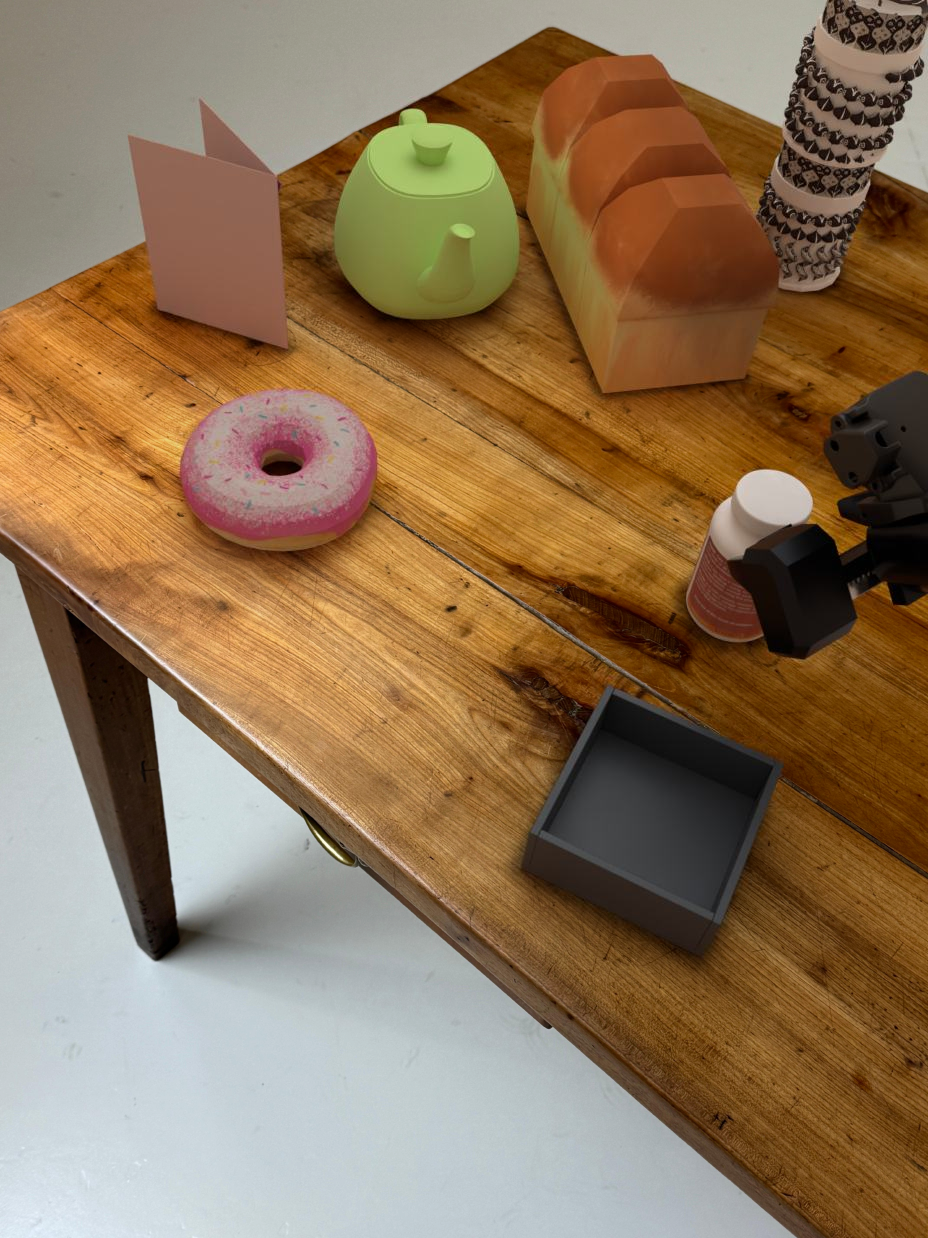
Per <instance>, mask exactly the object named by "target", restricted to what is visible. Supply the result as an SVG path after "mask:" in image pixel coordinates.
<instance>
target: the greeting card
mask: <svg viewBox="0 0 928 1238" xmlns="http://www.w3.org/2000/svg"><path fill="white" fill-rule="evenodd" d="M198 101H199V110H200V111H199V112H200V119H201V127H202V128H201V129H202V135H203V143H204V144H203V145H204V152H205V155H203V154H199V153H195V152H193V151H189V150H185V149H182V148H178V147H174V146H171V145H167V144H164V143H160V142H157V141H153V140H150V139H146V138H143V137H139V136H135V135H132V134H129V133H128V134H127V139H128V144H129V145H128V146H129V151H130V157H131V162H132V169H133V174H134V180H135V185H136V192H137V198H138V203H139V209H140V214H141V221H142V226H143V233H144V238H145V243H146V249H147V250H146V251H147V255H148V261H149V267H150V273H151V277H152V278H151V279H152V283H153V290H154V295H155V301H156V307H157V310H159V311H162V312H165V313H168V314H172V315H176V316H178V317H182V318H185V319H187V320H191V321H194V322H198V323H201V324H204V325H208V326H211V327H214V328H217V329H220V330H224V331H227V332H231V333H234V334H238V335H240V336H243V337H247V338H249V339H253V340H256V341H260V342H264V343H266V344H269V345H273V346H276V347H280V348H283V349H286V350H289V333H288V320H287V305H286V304H287V303H286V290H285V289H286V288H285V274H284V259H283V244H282V243H283V242H282V228H281V215H280V200H279V199H280V197H279V193H280V190H281V186H282V183H281V182H280V181H279V180H278V175H277V174H275V172H274V171H273V170H272V169H271V168H270V167H269V166H268V165H267V164H266V163H265V162H264V161H263V160H262V159H261V158H260V157H259V156H258V155H257V154H256V153H255V152H254V151H253V150H252V149H251V148H250V146H248V145H247V144H246V143H245V141H243V140H242V139H241V138H240V137H239V136H238V135H237V133H235V131H234V130H233V129H232V128H231V127H230V126H229V125H227V124H226V122H225V121H224V120H223V119H222V118H221V117H220V116H219V115H218V114H217V113H216V112H215V111H214V110H213V109H212V108H211V107H210V106H209V105H208V104H207V103H206V102H205V101H204V100H203V98H201V97H200V96H198Z"/></svg>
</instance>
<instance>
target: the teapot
mask: <svg viewBox="0 0 928 1238" xmlns="http://www.w3.org/2000/svg"><path fill="white" fill-rule="evenodd" d="M334 222H335V223H334V229H333V249H334V254H335V257H336V261H337V263H338V266H339V268H340V271H341V272H342V274H343V275H344V277H345V279H346V280H347V281H348V283H349V284H350V285H351V286H352V287H353V289H354V290H355V291H356V292H357V293H358V294H359V295H360V296H361V298H362V299H364V300H365V301H366V302H367V303H369V304H370V306H372V307H374V308H375V309H376V310H378V311H380V312H382V313H384V314H387V315H389V316H392V317H396V318H401V319H409V320H440V319H449V318H456V317H462V316H467V315H471V314H474V313H477V312H480V311H482V310H484V309H485V308H487V307H488V306H490V305H491V304H493V303H494V302H495V301H496V300H498V299H499V298H500V297H501V296H502V295H503V294H504V293H505V292H507V290H508V289H509V288H510V286H511V285H512V283H513V281H514V279H515V277H516V274H517V272H518V267H519V263H520V261H519V260H520V249H521V243H520V231H519V230H520V229H519V223H518V222H519V221H518V216H517V211H516V208H515V203H514V201H513V197H512V195H511V192H510V189H509V186H508V184H507V183H506V180H505V178H504V176H503V173H502V171H501V169H500V167H499V164H498V163H497V161H496V159H495V157H494V156H493V154H492V153H491V150H489V148H488V146H487V145H486V144H485V142H484V141H482V139H481V138H479V136H477V135H476V134H475V133H473V132H471V130H468V129H466V128H464V127H461V126H459V125H455V124H450V123H437V122H436V123H434V122H428V119H427V115H426V113H425V112H424V111H423V110H421V109H418V108H408V109H404V110H403V111H401V112H400V114H399V117H398V125H395V126H392V127H388V128H386V129H383V130H381V131H379V132H378V133H377V134H375V135H374V136H372V138H371V140H370V141H369V142H368V143H367V145H366V146H365V148H364V150H363V151H362V153H361V154H360V157H359V158H358V160H357V162H356V163H355V165H354V166H353V168H352V170H351V172H350V174H349V176H348V178H347V180H346V182H345V184H344V187H343V190H342V192H341V196H340V198H339V201H338V207H337V211H336V215H335V221H334Z"/></svg>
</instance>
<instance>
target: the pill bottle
mask: <svg viewBox="0 0 928 1238" xmlns="http://www.w3.org/2000/svg"><path fill="white" fill-rule="evenodd" d="M813 508H814V501H813V496H812V494H811V492H810V490H809V489H808V487H806V485H804V484H803V482H802V481H800V480H799V479H798V478H796V477H794V476H793V475H791V474H789V473H786V472H784V471H780V470H776V469H756V470H754V471H750V472H748V473H746V474H745V475H743V476H742V477H741V478H740V480H739V481H738V483H737V484H736V487H735V489H734V491H733V493H732V495H731V496H729V497H728V498H726V499H725V500H723V501H722V502H721V503H720V504H719V505H718V506H717V508H716V509H715V511H714V513H713V515H712V518H711V519H710V522H709V526H708V528H707V531H706V534H705V537H704V540H703V543H702V545H701V548H700V552H699V554H698V557H697V560H696V563H695V566H694V569H693V571H692V574H691V577H690V580H689V584H688V585H687V590H686V595H685V601H686V602H685V603H686V607H687V611H688V613H689V615H690V617H691V619H692V621H693V622H694V623H696V625H697V626H698V627H699V629H701V630H702V631H704V632H705V633H707V634H708V635H710V636H711V637H714V638H716V639H718V640H721V641H724V642H730V643H747V642H751V641H755V640H757V639H759V638H761V637H764V634H763V631H762V628H761V625H760V622H759V618H758V615H757V612H756V609H755V606H754V603H753V599H752V596H751V594H750V593H749V592H748V591H747V590H745V589H744V588H743V587H742V586H741V585H740V584H739V583H738V582H737V581H735V580H734V579H733V578H732V577H731V575H730V572H729V569H728V566H727V560H729V559H731V558H733V557H737V556H741V555H744V553H745V550H746V548H748V547H750V546H752V545H754V544H756V543H757V542H758V541H759V540H761V539H763V538H765V537H766V536H768V535H770V534H772V533H774V532H776V531H778V530H779V529H781V528H783V527H785V526H787V525H789V524H792V527H793V526H796V525H800V524H808V522H809V520H810V517H811V514H812V512H813Z"/></svg>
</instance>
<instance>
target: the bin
mask: <svg viewBox="0 0 928 1238" xmlns="http://www.w3.org/2000/svg"><path fill="white" fill-rule="evenodd" d="M784 766H785V763H784V762H781V761H779V760H776V759H775V758H773V757H771V756H768V755H766V754H764V753H761V752H759V751H757V750H755V749H752V748H750V747H748V746H746V745H744V744H742V743H739V742H737V741H735V740H732V739H730V738H728V737H726V736H724V735H721V734H720V733H717V732H714V731H712V730H710V729H708V728H706V727H703V726H701V725H699V724H697V723H695V722H693V721H690V720H688V719H686V718H683V717H681V716H678V715H677V714H675V713H672V712H670V711H668V710H666V709H664V708H661V707H659V706H657V705H654V704H652V703H650V702H648V701H645V700H643V699H641V698H639V697H637V696H634V695H632V694H630V693H627V692H626V691H623V690H621V689H618V688H616V687H614V686H612V685H610V684H606V686H605V688H604V690H603V692H602V693H601V696H600V697H599V699H598V702H597V703H596V705H595V707H594V708H593V711H592V712H591V715H590V717H589V719H588V720H587V722H586V724H585V726H584V728H583V730H582V731H581V733H580V736H579V737H578V739H577V740H576V743H575V744H574V747H573V749H572V751H571V753H570V755H569V756H568V758H567V760H566V762H565V764H564V766H563V768H562V769H561V771H560V774H559V775H558V777H557V779H556V781H555V784H554V785H553V787H552V788H551V790H550V792H549V794H548V795H547V798H546V800H545V802H544V804H543V806H542V807H541V809H540V811H539V813H538V815H537V817H536V819H535V821H534V823H533V824H532V827H531V828H530V830H529V832H528V836H527V841H526V845H525V848H524V853H523V856H522V861H521V865H520V869H522V870H523V871H526V872H528V873H530V874H532V875H534V876H536V877H538V878H540V879H541V880H544V881H546V882H548V883H550V884H552V885H554V886H556V887H558V888H560V889H562V890H564V891H566V892H569V893H570V894H572V895H574V896H576V897H578V898H581V899H582V900H584V901H586V902H588V903H590V904H592V905H594V906H597V907H599V908H601V909H603V910H605V911H606V912H609V913H611V914H613V915H614V916H617V917H618V918H621V919H623V920H625V921H627V922H629V923H630V924H632V925H635V926H637V927H638V928H641V929H643V930H645V931H647V932H649V933H652V934H653V935H654V936H657V937H659V938H661V939H663V940H665V941H667V942H669V943H671V944H674V945H676V946H677V947H680V948H681V949H683V950H686V951H687V952H690V953H692V954H694V955H696V956H698V957H700V958H702V957H703V955H704V954H705V952H706V950H707V949H708V947H709V945H710V944H711V942H712V941H713V939H714V938H715V936H716V935H717V933H718V931H719V929H720V928H721V926H722V924H723V921H724V920H725V916H726V914H727V912H728V909H729V906H730V903H731V901H732V898H733V896H734V894H735V891H736V888H737V885H738V884H739V880H740V878H741V876H742V873H743V870H744V868H745V865H746V863H747V860H748V858H749V856H750V852H751V850H752V848H753V845H754V842H755V840H756V837H757V836H758V835H757V834H758V833H759V830H760V827H761V825H762V822H763V819H764V817H765V815H766V811H767V810H768V807H769V805H770V802H771V799H772V796H773V794H774V791H775V789H776V786H777V784H778V781H779V779H780V776H781V774H782V770H783V768H784Z"/></svg>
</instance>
